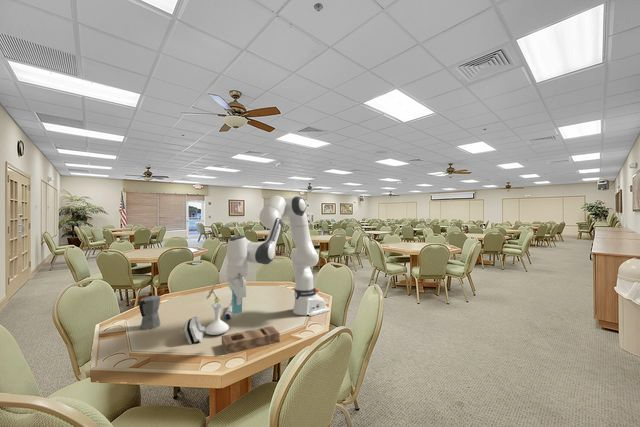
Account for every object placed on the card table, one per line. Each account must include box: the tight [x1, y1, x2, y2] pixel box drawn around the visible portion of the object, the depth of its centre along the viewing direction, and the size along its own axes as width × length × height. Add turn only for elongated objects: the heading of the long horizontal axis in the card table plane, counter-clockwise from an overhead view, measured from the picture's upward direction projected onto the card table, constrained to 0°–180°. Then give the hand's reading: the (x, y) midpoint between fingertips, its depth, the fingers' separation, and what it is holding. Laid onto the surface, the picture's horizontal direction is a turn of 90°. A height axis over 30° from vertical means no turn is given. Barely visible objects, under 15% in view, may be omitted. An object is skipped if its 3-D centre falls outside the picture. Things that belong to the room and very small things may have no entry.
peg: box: [231, 290, 243, 315], centre depth 124 cm, size 4×4×10 cm
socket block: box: [221, 325, 281, 355], centre depth 127 cm, size 24×10×4 cm, turn 119°
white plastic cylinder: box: [223, 299, 234, 321], centre depth 169 cm, size 5×7×25 cm
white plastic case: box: [183, 316, 206, 345], centre depth 135 cm, size 17×5×10 cm, turn 15°
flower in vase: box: [205, 284, 230, 336], centre depth 139 cm, size 13×11×25 cm
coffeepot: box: [138, 292, 161, 330], centre depth 147 cm, size 15×9×18 cm, turn 179°
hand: (237, 303), depth 124 cm, fingers closed on peg, 4 cm apart
